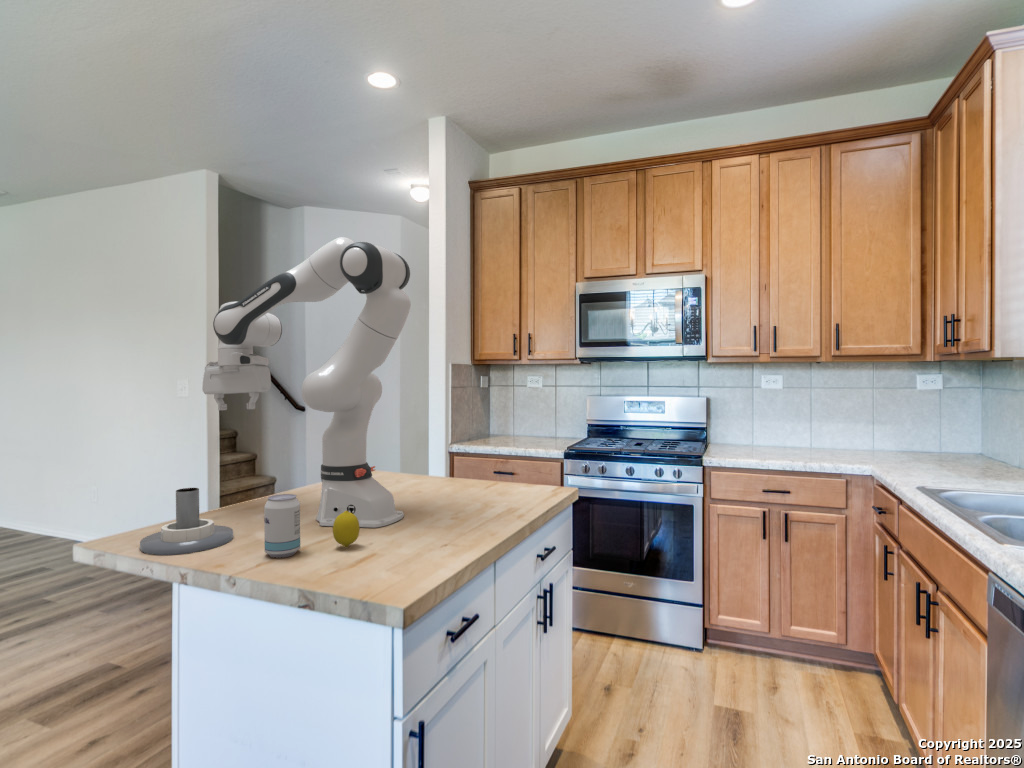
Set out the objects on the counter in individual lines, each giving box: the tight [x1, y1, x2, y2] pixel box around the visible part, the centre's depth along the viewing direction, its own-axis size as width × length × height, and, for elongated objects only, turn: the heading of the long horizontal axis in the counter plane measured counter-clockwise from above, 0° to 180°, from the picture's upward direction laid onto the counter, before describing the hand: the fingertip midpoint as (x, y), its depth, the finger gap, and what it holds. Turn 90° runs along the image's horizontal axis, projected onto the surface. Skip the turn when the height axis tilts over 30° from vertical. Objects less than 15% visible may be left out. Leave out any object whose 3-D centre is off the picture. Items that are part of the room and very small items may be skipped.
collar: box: [139, 518, 234, 556], centre depth 126 cm, size 18×18×4 cm
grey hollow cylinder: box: [175, 487, 200, 530], centre depth 126 cm, size 4×4×10 cm
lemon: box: [332, 511, 360, 548], centre depth 122 cm, size 6×6×8 cm
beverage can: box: [263, 493, 301, 559], centre depth 117 cm, size 7×7×12 cm
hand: (236, 409), depth 156 cm, fingers open, 8 cm apart
